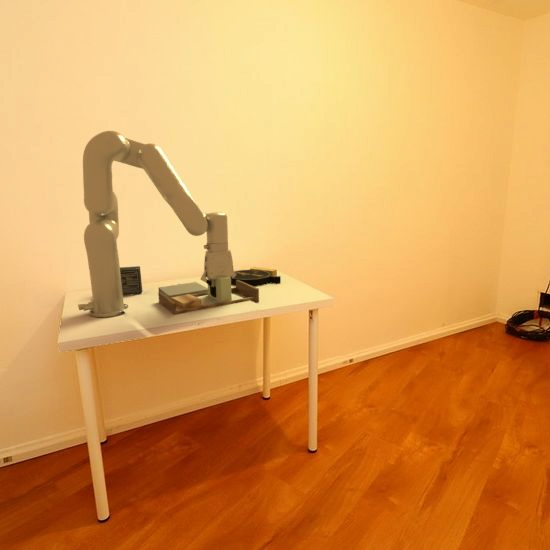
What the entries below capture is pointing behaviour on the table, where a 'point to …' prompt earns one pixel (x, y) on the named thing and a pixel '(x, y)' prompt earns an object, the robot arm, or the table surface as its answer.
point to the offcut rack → (240, 288)
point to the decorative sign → (257, 276)
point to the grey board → (183, 289)
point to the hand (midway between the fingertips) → (219, 295)
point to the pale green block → (222, 289)
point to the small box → (131, 280)
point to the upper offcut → (186, 301)
